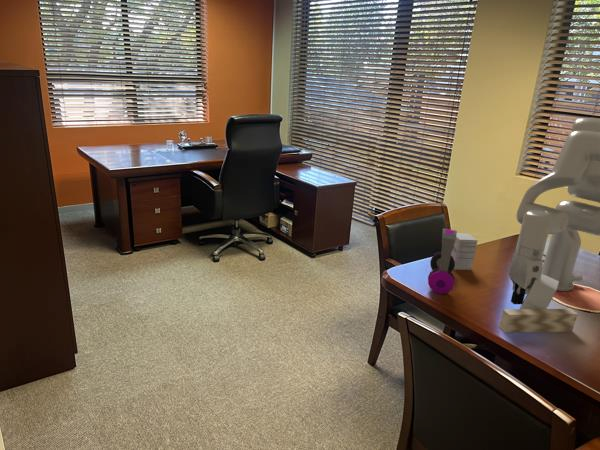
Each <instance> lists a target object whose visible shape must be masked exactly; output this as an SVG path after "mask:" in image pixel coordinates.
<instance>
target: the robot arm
mask: <svg viewBox="0 0 600 450" xmlns="http://www.w3.org/2000/svg"><path fill="white" fill-rule="evenodd" d="M563 143H564V144H563V145H562V147H561V150H560V152H559V154H558V157H557V159H556V161H555V163H554V166H553V168H552V170H551V172H550V173H548V174H546V175H545V176H544V177H542V178H540V179H538V180H536V181H535V182H534V183H532V185H531V186H529V188H527V190H526V191H525V192H524V195H523V196H522V199H521V201H520V203H519V206H518V208H517V211H516V215H515V216H516V220H517V222H518V223H519V224H521V227H520V229H519V230H520V231H519V234H518V239H517V244H516V248H515V251H514V254H513V256H512V258H511V262H510V264H509V265H510V266H509V270H508V276H509V278H510V280H511V283H512V290H513V291H512V294H511V299H510V303H512V304H513V305H522V303H523V301H524V299H525V297H526V295H527V294H528V293H529V291H530V289H531V287H532V285H533V283H534V281H535V279H536V280H541V275H542V274H543V275H546V276H548V277H550V278H552V279H555V280H557V281H559V284H558V288H557V291H558V292H569V291H572V290H573V289H574V283H573V282H575V281H577V282H580V281H581V282H582V280H583V276H582V275H575V273H574V268H575V265H576V261H577V258H578V256H579V251H580V249H581V244H582V239H581V235H580V234H579V232H582V233H586V234H590V235H593V236H597V237H600V206H597V205H595V204H594V205H593V204H589V203H586V202H581V201H576V200H571V199H568V200H562V201H561V202H559V203H558V204H556V206H555V208H554V207H550V206H546V205H543V204H538V203H535V201H536V200H537V198H538V197H539V196H540V195H542V194H544V193H545V192H549V191H551V190H554V189H558V188H567V193H568V195H570V196H572V197H574V198H578V199H583V200H587V201H590V202H594V203H595V202H596V203H598V204H600V118H599V117H598V118H597V117H581V118H579V117H578V118H577V119H575V121H574V122H573V124H572V127H571V133H569V134H568V136H567V137H566V139H565V141H564V142H563ZM549 235H550V240H549V242H548V246H547V250H546V253H545V255H546V257H545V256H543V254H544V252H545V248H546V245H547V241H548V236H549ZM543 257H545V258H544V259H543ZM543 260H544V262H543Z"/></svg>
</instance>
